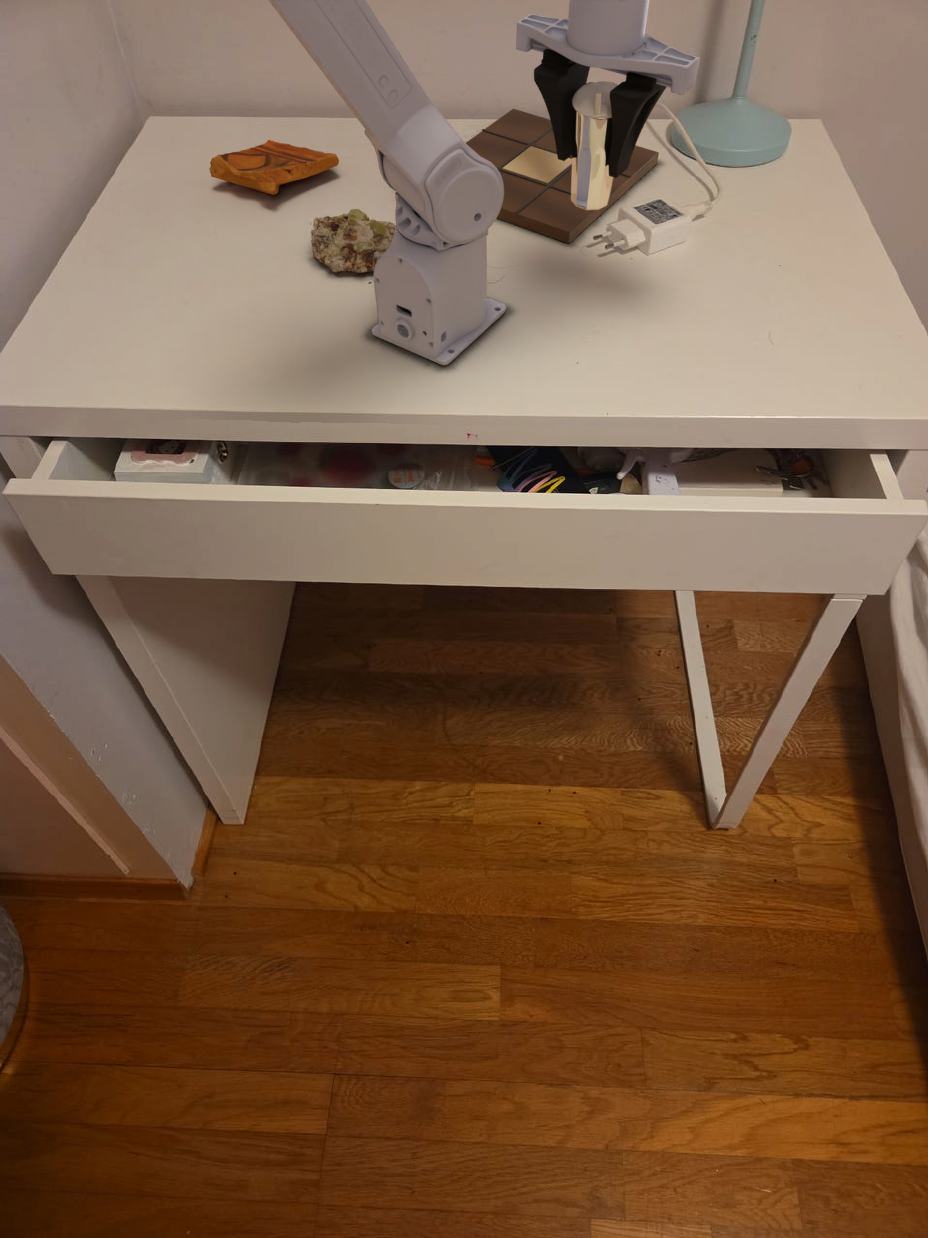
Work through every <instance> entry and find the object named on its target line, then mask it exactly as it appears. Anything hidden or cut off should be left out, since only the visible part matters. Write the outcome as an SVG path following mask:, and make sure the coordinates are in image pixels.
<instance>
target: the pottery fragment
mask: <svg viewBox="0 0 928 1238" xmlns="http://www.w3.org/2000/svg"><path fill="white" fill-rule="evenodd" d="M339 164H340V159H339V157H338V155H337V153H333V152H332V153H331V152H324V151H319V150H314V149H310V148H308V147H304V146H303V147H301V146H296V145H292V144H290V143H282V142H278V141H274V140H271V139H268V140H267V141H266V142H265V143H262V144H259V145H255V146H253V147H249V148H246V149H241V150H239V151H231V152H228V153H222V154H216V156H214V157H212V158H211V159H210V164H209V165H210V167H209V168H208V169H209V172H210V177H211V178H216V179H217V180H222V181H224V182H228V183H231V184H234V185H238V186H242V187H245V188H248V189H253V190H256V191H259V192H261V193H263V194H269V195H273V196H275V195H276V194H278V193H279V188H280V186H281V185H284V184H288V183H291V182H296V181H299V180H303V179H307V178H309V177H312V176H316V175H319V174H320V173H321V174H322V173H323V172H326V171H328V170H330V169H333V168H335V167H337V166H338V165H339Z"/></svg>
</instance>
